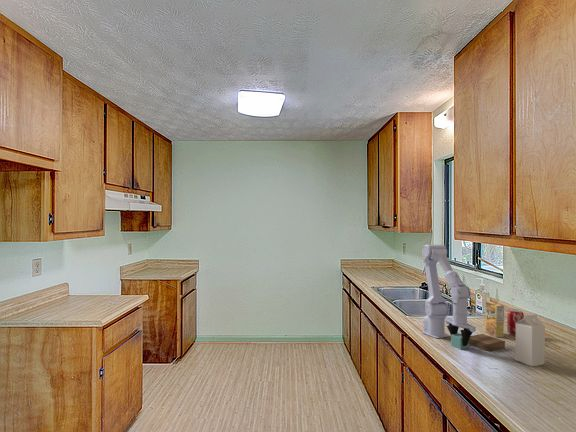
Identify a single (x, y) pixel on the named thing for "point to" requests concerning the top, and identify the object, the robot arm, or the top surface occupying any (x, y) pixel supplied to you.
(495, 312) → the candy box
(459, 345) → the teal cube
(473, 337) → the walnut block
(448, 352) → the top surface
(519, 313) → the soda can
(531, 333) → the milk carton
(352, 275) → the top surface
